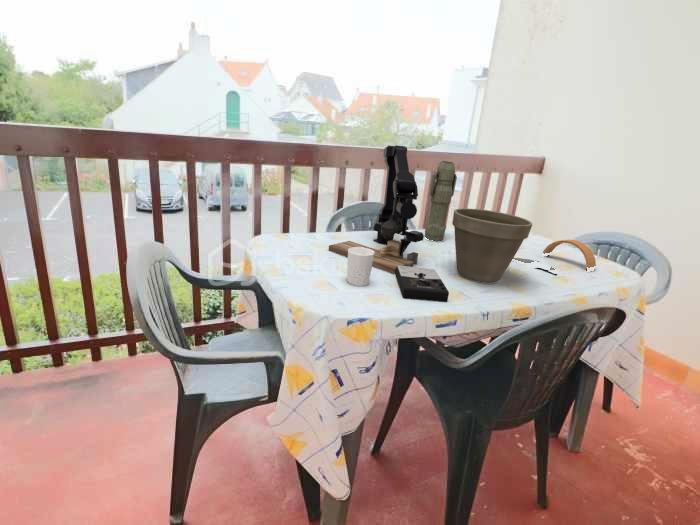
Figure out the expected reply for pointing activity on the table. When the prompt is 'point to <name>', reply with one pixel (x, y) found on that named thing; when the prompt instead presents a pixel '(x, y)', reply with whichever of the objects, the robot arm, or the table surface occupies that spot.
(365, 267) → the white cup
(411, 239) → the robot arm
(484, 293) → the table surface
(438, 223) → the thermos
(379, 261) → the walnut board
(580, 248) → the arch
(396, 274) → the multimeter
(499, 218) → the plant pot
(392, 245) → the marking gauge
